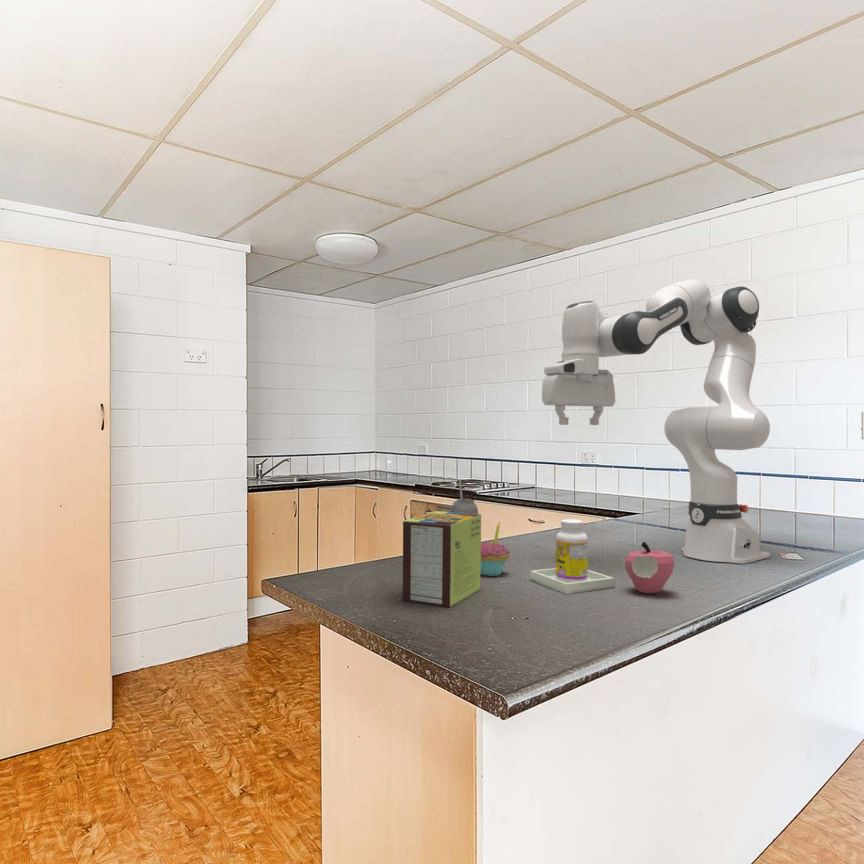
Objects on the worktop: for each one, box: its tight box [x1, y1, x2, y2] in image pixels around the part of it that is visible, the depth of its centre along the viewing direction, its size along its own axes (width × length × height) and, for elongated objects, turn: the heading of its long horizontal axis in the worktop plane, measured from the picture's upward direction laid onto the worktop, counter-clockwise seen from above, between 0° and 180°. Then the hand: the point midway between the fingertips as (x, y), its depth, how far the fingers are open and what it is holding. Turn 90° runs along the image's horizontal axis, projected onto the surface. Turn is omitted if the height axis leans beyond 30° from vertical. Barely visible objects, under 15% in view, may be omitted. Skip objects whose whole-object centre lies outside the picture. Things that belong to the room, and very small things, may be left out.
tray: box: [529, 567, 616, 595], centre depth 135 cm, size 13×13×2 cm
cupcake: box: [480, 521, 511, 577], centre depth 144 cm, size 9×8×12 cm
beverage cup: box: [449, 479, 479, 514], centre depth 157 cm, size 7×7×20 cm
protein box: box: [402, 510, 482, 608], centre depth 126 cm, size 10×15×16 cm
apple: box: [624, 541, 675, 595], centre depth 129 cm, size 10×9×10 cm
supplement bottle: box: [555, 518, 589, 583], centre depth 136 cm, size 7×7×13 cm
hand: (579, 424), depth 155 cm, fingers open, 8 cm apart
